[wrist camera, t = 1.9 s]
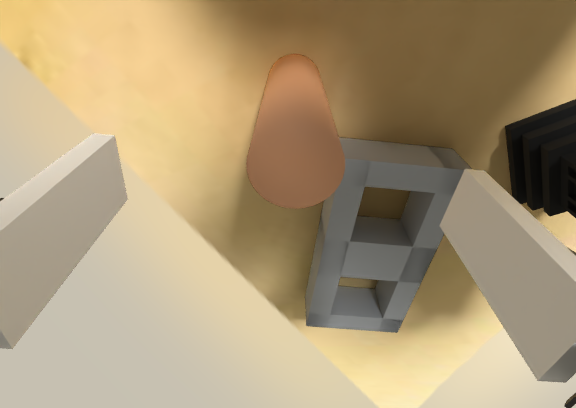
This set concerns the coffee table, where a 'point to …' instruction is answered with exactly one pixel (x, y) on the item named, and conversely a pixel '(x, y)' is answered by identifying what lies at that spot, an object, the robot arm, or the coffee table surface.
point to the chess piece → (544, 159)
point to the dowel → (295, 138)
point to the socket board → (379, 234)
